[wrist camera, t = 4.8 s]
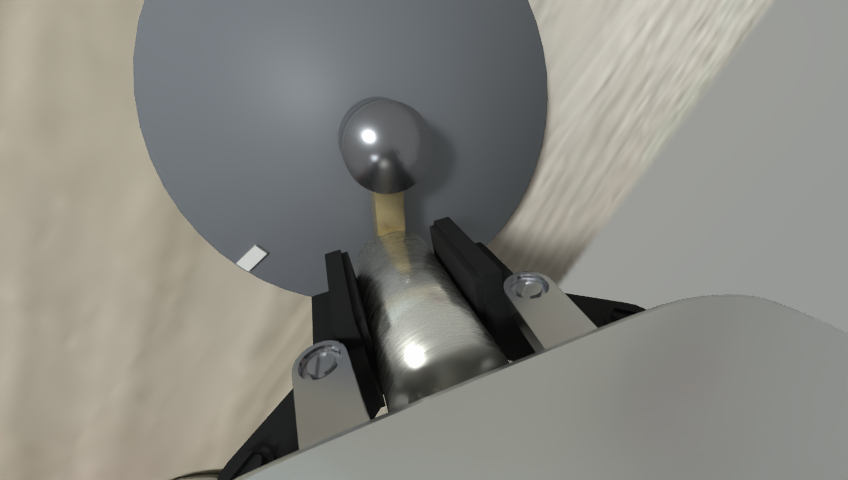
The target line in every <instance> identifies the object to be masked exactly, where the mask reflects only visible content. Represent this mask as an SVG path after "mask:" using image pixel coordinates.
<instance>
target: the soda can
mask: <svg viewBox="0 0 848 480" xmlns="http://www.w3.org/2000/svg"><path fill="white" fill-rule="evenodd" d="M218 477H219V475H217V474H205V475H194V476H188V477H183V478H179V479H176V480H217V479H218Z"/></svg>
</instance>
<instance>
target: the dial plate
mask: <svg viewBox="0 0 848 480" xmlns="http://www.w3.org/2000/svg"><path fill="white" fill-rule="evenodd" d="M133 64H134V95H135V101H136V106H137V112H138V118H139V123H140V128H141V131H142V134H143V137H144V140H145V143H146V147H147V150H148V153H149V156H150V159H151V161H152V163H153V165H154V167H155V169H156V171H157V173H158V175H159V177H160V179H161V181H162V184H163V186H164V187H165V189H166V190H167V192H168V194H169V195H170V197H171V198H172V200H173V201H174V203H175V204H176V206H177V207H178V209H179V210H180V212H181V213H182V214H183V215H184V217H185V218H186V219H187V220H188V221H189V222H190V224H191V225H192V226H193V227H194V228H195V230H196V231H197V232H198V233H199V234H200V235H201V236H202V237H203V238H204V239H205V240H206V241H207V242H209V243H210V244H211V245H212V246H213V247H214V248H215V249H216V250H217V251H218V252H219V253H221V254H222V255H224V256H225V257H226V258H228V259H229V260H230V261H232V262H233V263H235V264H236V265H237V266H239V267H240V268H242V269H244V270H245V271H247V272H249V273H251V274H253V275H254V276H256V277H258V278H260V279H262V280H263V281H266V282H268V283H271V284H273V285H276V286H278V287H280V288H283V289H285V290H289V291H292V292H296V293H299V294H303V295H306V296H311V297H313V296H315V295H318V294H321V293H324V292H327V291H329V290H328V281H327V271H326V262H325V254H327V253H330V252H333V251H336V250H341V252H342V253H344V252H348V255H349V257H350V260H351V263H352V266H353V269H354V268H355V262H356V258H357V256H358V254H359V252H360V250H361V249H362V248H363V246H364V245H365V244H366V243H367V242H368V241H370V240H371V239H372V238H374V237H375V235H374V225H373V215H372V205H371V195H370V190H368V189H366V188H364V187H363V186H361V185H360V184H359V183H358V182H356V180H355V179H354V178H353V177H352V176H351V174H350V173H349V171H348V169H347V167H346V165H345V162H344V160H343V158H342V155H341V153H340V150H339V145H338V132H339V127H340V124H341V121H342V119H343V117H344V115H345V114H346V113H347V111H348V110H349V109H350V108H351V107H352V106H353V105H355V104H356V103H358V102H359V101H361V100H363V99H366V98H370V97H386V98H390V99H393V100H396V101H399V102H402V103H405V104H407V105H409V106H411V107H412V108H414V109H415V110H416V111H417V112H418V113H420V114H421V116H422V117H423V118H424V119H425V121H426V123H427V124H428V126H429V128H430V131H431V134H432V140H433V153H432V159H431V162H430V165H429V167H428V169H427V171H426V172H425V174H424V175H423V177H422V178H421V179H420V180H419V181H418V182H417V183H416V184H415V185H413V186H412V187H410V188H409V189H407V190H404V191H403V197H404V216H405V231H408V232H411V233H414V234H416V235H418V236H419V237H421V238H422V239H423V240H424V241H425V242H426V244H427V245H428V246H429V248H430V249H431V251H432V252H433V254H434V250H433V245H432V239H431V234H430V226H432V225H434V221H435V220H438V219H442V218H445V217H450V218H451V219H452V221H453V222H454V223H455V224H456V225H457V226H458V227H459V228H460V229H461V230H462V231H463V232H464V233H465V234H466V235H467V236H468V237H469V238H470V239H471V240H472V241H473V242H474V243H478V242H481V243H482V244H484V245H485V246H486V245H487V244H488V243H489V242H490V241H491V240H492V239H493V238H494V237H495V236H496V235H497V233H498V232H499V231H500V230H501V229H502V227H503V226H504V225H505V224H506V222H507V221H508V219H509V218H510V216H511V215H512V213H513V212H514V210H515V209H516V207H517V206H518V204H519V202H520V200H521V198H522V196H523V195H524V193H525V191H526V189H527V187H528V184H529V182H530V179H531V177H532V175H533V172H534V170H535V167H536V164H537V160H538V157H539V153H540V150H541V146H542V141H543V136H544V130H545V125H546V114H547V100H548V96H547V72H546V65H545V58H544V51H543V46H542V42H541V38H540V34H539V31H538V27H537V23H536V20H535V17H534V15H533V12H532V10H531V7H530V5H529V2H528V0H145V1H144V5H143V8H142V11H141V14H140V18H139V21H138V27H137V34H136V42H135V49H134V57H133ZM354 272H355V270H354Z"/></svg>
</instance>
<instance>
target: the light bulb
mask: <svg viewBox="0 0 848 480" xmlns="http://www.w3.org/2000/svg"><path fill="white" fill-rule="evenodd" d="M338 145H339V150H340V153H341V155H342V158H343V160H344V162H345V165H346V167H347V169H348V171H349V173H350V174H351V176H352V177H353V178H354V179H355V180H356V182H358V183H359V184H360V185H361V186H363V187H364V188H366V189H368V190H370V195H371V205H372V215H373V225H374V235H375V237H374V238H372V239H371V240H370V241H368V242H367V243H366V244H365V245H364V246H363V248H362V249H361V250H360V252H359V254H358V256H357V258H356V262H355V268H354V270H355V275H356V278H357V282H358V286H359V290H360V294H361V298H362V302H363V306H364V310H365V314H366V318H367V322H368V326H369V330H370V334H371V338H372V342H373V346H374V350H375V354H376V363H377V368H378V372H379V376H380V380H381V384H382V388H383V392H384V397H385V401H386V405H387V409H388V412H391V411H393V410H396V409H398V408H401V407H403V406H405V405H408V404H410V403H413V402H415V401H418V400H420V399H422V398H425V397H427V396H430V395H432V394H435V393H437V392H440V391H442V390H445V389H447V388H450V387H452V386H454V385H457V384H459V383H462V382H464V381H467V380H469V379H472V378H474V377H477V376H479V375H482V374H484V373H487V372H489V371H491V370H494V369H496V368H499V367H501V366H504V365H506V364H509V362H508V360H507V358H506V357H505V355H504V354H503V352H502V351H501V350H500V348H499V347H498V345H497V344H496V342H495V341H494V339H493V338H492V337H491V335H490V334H489V332H488V331H487V329H486V328H485V327H484V325H483V324H482V322H481V321H480V319H479V318H478V317H477V315H476V314H475V312H474V311H473V309H472V308H471V307H470V305H469V304H468V302H467V301H466V299H465V298H464V297H463V295H462V294H461V292H460V291H459V289H458V288H457V286H456V285H455V284H454V282H453V281H452V279H451V278H450V276H449V275H448V274H447V272H446V271H445V269H444V268H443V266H442V265H441V264H440V262H439V261H438V259H437V258H436V256H435V255H434V254H433V252H432V251H431V249H430V248H429V246H428V245H427V244H426V242H425V241H424V240H423V239H422V238H421V237H419V236H418V235H416V234H414V233H411V232H408V231H405V216H404V197H403V191H404V190H407V189H409V188H410V187H412V186H413V185H415V184H416V183H417V182H418V181H419V180H420V179H421V178H422V177H423V175H424V174H425V172H426V171H427V169H428V167H429V165H430V162H431V159H432V153H433V140H432V134H431V131H430V128H429V126H428V124H427V123H426V121H425V119H424V118H423V117H422V116H421V114H420V113H418V112H417V111H416V110H415V109H414V108H412V107H411V106H409V105H407V104H405V103H402V102H399V101H396V100H393V99H390V98H386V97H370V98H366V99H363V100H361V101H359V102H358V103H356V104H355V105H353V106H352V107H351V108H350V109H349V110H348V111H347V113H346V114H345V115H344V117H343V119H342V121H341V124H340V127H339V132H338Z"/></svg>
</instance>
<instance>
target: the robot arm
mask: <svg viewBox="0 0 848 480" xmlns="http://www.w3.org/2000/svg"><path fill="white" fill-rule="evenodd" d="M430 234H431V239H432V245H433V250H434V255H435V256H436V258H437V259H438V261H439V262H440V264H441V265H442V266H443V268H444V269H445V271H446V272H447V274H448V275H449V276H450V278H451V279H452V281H453V282H454V284H455V285H456V286H457V288H458V289H459V291H460V292H461V294H462V295H463V297H464V298H465V299H466V301H467V302H468V304H469V305H470V307H471V308H472V309H473V311H474V312H475V314H476V315H477V317H478V318H479V319H480V321H481V322H482V324H483V325H484V327H485V328H486V329H487V331H488V332H489V334H490V335H491V337H492V338H493V339H494V341H495V342H496V344H497V345H498V347H499V348H500V350H501V351H502V352H503V354H504V355H505V357H506V358H507V360H509V364H506V365H504V366H501V367H499V368H496V369H494V370H491V371H489V372H487V373H484V374H482V375H479V376H477V377H474V378H472V379H469V380H467V381H464V382H462V383H459V384H457V385H454V386H452V387H450V388H447V389H445V390H442V391H440V392H437V393H435V394H432V395H430V396H427V397H425V398H422V399H420V400H418V401H415V402H413V403H410V404H408V405H405V406H403V407H401V408H398V409H396V410H393V411H391V412H388V413H386V414H384V415H381V416H379V417H376V418H375V416H376V415H377V413H378V411H379V410H380V408H381V407H384V406H385V402H384V398H383V394H384V392H383V388H382V384H381V380H380V376H379V372H378V368H377V363H376V354H375V350H374V346H373V342H372V338H371V334H370V330H369V326H368V322H367V318H366V314H365V310H364V306H363V302H362V298H361V294H360V290H359V286H358V282H357V278H356V275H355V272H354V269H353V266H352V263H351V260H350V257H349V255H348V252H344V253H342V252H341V250H336V251H333V252H330V253H327V254H325V262H326V271H327V281H328V290H329V291H327V292H324V293H321V294H318V295H315V296H313V297H312V320H313V345H312V346H311V347H309V348H307V349H306V350H305V351H304V352H302V353H301V354H300V356H299V357H298V358H297V359H296V361H295V363H294V365H293V368H292V381H293V389H292V390H291V391H290V392H289V394H288V395H287V396H286V397H285V398H284V399H283V400H282V402H281V403H280V404H279V405H278V406H277V407H276V408H275V409H274V411H273V412H272V413H271V414H270V415H269V416H268V417H267V419H266V420H265V421H264V422H263V423H262V424H261V425H260V426H259V428H258V429H257V430H256V431H255V432H254V433H253V434H252V436H251V437H250V438H249V439H248V440H247V441H246V442H245V443H244V445H243V446H242V447H241V448H240V449H239V450H238V451H237V453H236V454H235V455H234V456H233V457H232V458H231V459H230V460H229V462H228V463H227V464H226V466H225V467H224V468H223V470H222V471H221V473H220V475H219V477H218V479H217V480H848V333H847V332H845V331H843V330H841V329H839V328H836V327H834V326H832V325H830V324H828V323H825V322H823V321H821V320H819V319H816V318H814V317H812V316H809V315H807V314H805V313H802V312H800V311H798V310H795V309H793V308H790V307H788V306H785V305H782V304H780V303H777V302H774V301H771V300H768V299H765V298H760V297H755V296H747V295H711V296H700V297H693V298H687V299H682V300H678V301H674V302H671V303H667V304H663V305H660V306H657V307H654V308H652V309H649V310H646V309H644V308H641V307H639V306H637V305H633V304H629V303H623V302H617V301H610V300H604V299H598V298H592V297H585V296H579V295H573V294H567V293H564V292H563V291H562V290H561V289H560V288H559V287H558V286H557V285H556V284H555V283H554V282H553V281H552V279H550V278H549V277H548V276H546V275H544V274H541V273H538V272H533V271H524V272H518V273H515V274H513V273H512V272H511V271H510V270H509V269H508V268H507V267H506V266H505V265H504V264H503V263H502V262H501V261H500V260H499V259H498V258H497V257H496V256H495V255H494V254H493V253H492V252H491V251H490V250H489V249H488V248H487V247H486V246H485V245H484V244H482V243H481V242H478V243H474V242H473V241H472V240H471V239H470V238H469V237H468V236H467V235H466V234H465V233H464V232H463V231H462V230H461V229H460V228H459V227H458V226H457V225H456V224H455V223H454V222H453V221H452V219H451V218H450V217H445V218H442V219H438V220H435V221H434V225H432V226H430Z"/></svg>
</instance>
